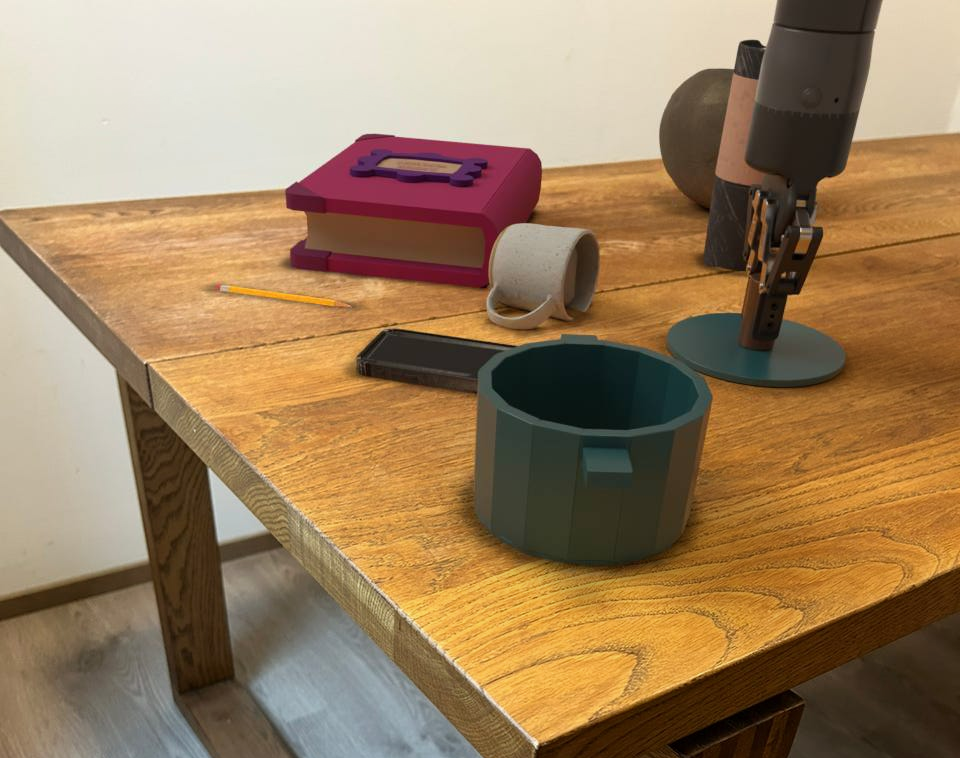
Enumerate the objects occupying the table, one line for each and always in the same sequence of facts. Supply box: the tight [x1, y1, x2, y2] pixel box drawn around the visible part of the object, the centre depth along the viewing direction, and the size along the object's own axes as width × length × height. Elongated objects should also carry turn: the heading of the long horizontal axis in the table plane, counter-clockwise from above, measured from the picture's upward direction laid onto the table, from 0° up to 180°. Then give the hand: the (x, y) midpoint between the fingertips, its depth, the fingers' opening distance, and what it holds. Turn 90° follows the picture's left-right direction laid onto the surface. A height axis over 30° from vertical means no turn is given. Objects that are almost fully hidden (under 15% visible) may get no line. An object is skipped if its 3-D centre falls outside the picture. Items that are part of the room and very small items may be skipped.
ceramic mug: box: [485, 222, 601, 330], centre depth 88 cm, size 11×8×8 cm
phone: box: [355, 327, 518, 394], centre depth 80 cm, size 8×1×15 cm
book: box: [284, 133, 543, 289], centre depth 105 cm, size 21×28×8 cm
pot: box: [472, 333, 714, 566], centre depth 61 cm, size 14×19×8 cm
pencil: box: [214, 283, 353, 308], centre depth 91 cm, size 1×13×1 cm, turn 75°
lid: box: [665, 273, 847, 388], centre depth 83 cm, size 15×15×7 cm
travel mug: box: [702, 39, 767, 272], centre depth 98 cm, size 8×8×20 cm
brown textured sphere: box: [658, 67, 734, 210], centre depth 117 cm, size 14×14×15 cm
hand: (758, 329), depth 83 cm, fingers closed on lid, 3 cm apart
